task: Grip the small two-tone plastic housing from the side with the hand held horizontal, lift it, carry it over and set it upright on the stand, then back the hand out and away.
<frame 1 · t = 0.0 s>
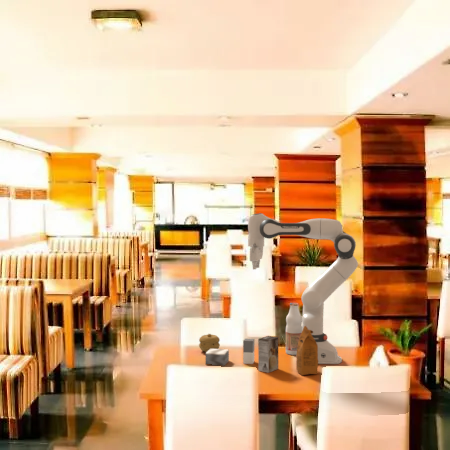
hand: (256, 268, 305), 48 cm above the table, tool pointing down, fingers open, 8 cm apart
fruit juice: (294, 353, 313), on the table
coffee package: (306, 372, 275), on the table
stand: (217, 362, 293), on the table
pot: (209, 351, 316), on the table
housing: (248, 362, 293), on the table
coffee box: (268, 370, 280), on the table
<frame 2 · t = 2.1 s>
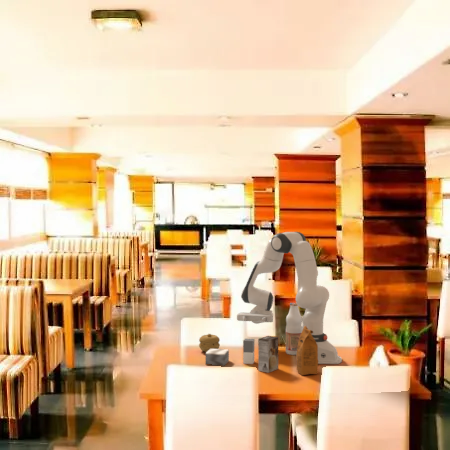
hand: (252, 320, 304), 20 cm above the table, tool horizontal, fingers open, 8 cm apart
nothing on the table moved.
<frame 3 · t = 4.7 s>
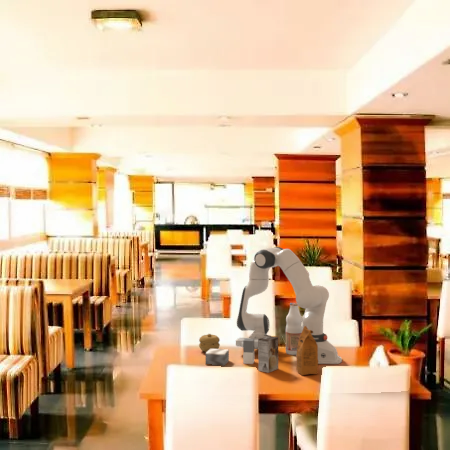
hand: (251, 346, 302), 6 cm above the table, tool horizontal, fingers open, 8 cm apart
nothing on the table moved.
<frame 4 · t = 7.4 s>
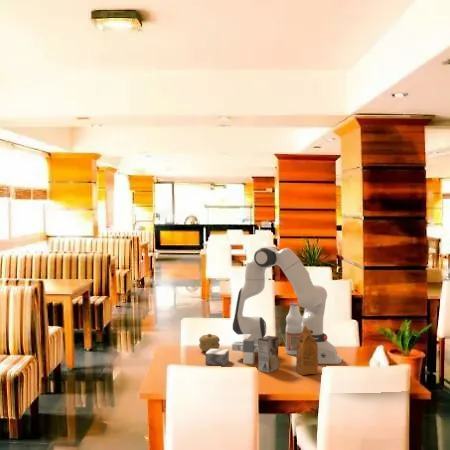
hand: (248, 350, 292), 7 cm above the table, tool horizontal, fingers closed on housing, 5 cm apart
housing: (248, 362, 293), on the table, touching gripper
everything else where it was.
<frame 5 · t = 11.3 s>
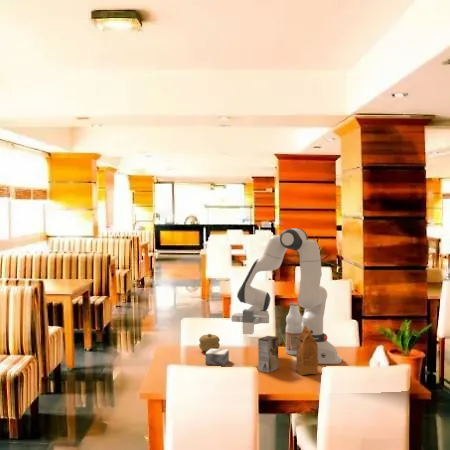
hand: (248, 321, 292), 22 cm above the table, tool horizontal, fingers closed on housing, 5 cm apart
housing: (248, 333, 293), point 15 cm above the table, touching gripper
everything else where it was.
when the fingers open (14 cm above the table, at t = 15.1 s): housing drops 1 cm, resting on stand.
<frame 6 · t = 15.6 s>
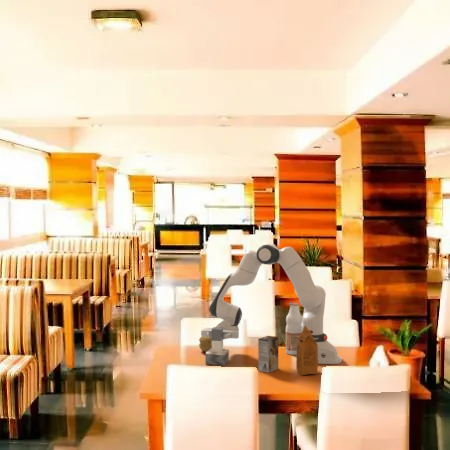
hand: (216, 336, 292), 14 cm above the table, tool horizontal, fingers open, 8 cm apart
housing: (217, 351, 293), point 6 cm above the table, touching stand
everything else where it was.
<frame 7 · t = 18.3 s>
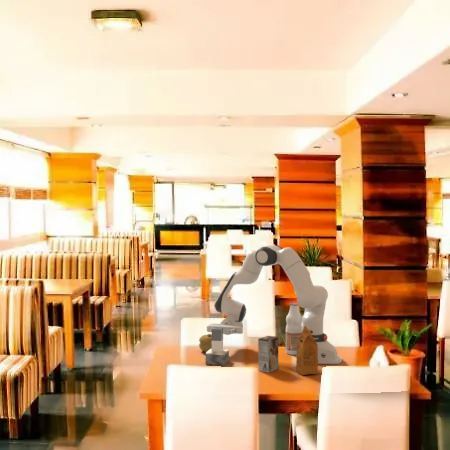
hand: (222, 331, 303), 14 cm above the table, tool horizontal, fingers open, 8 cm apart
nothing on the table moved.
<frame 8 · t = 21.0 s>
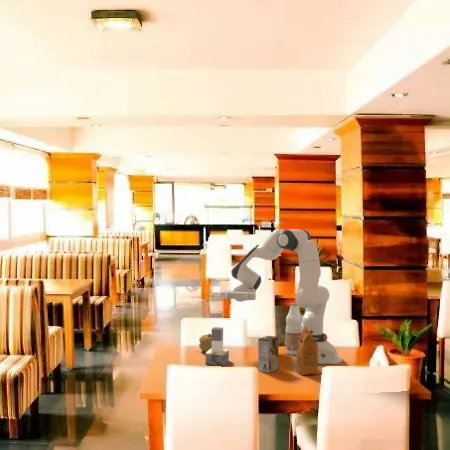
hand: (235, 297, 307), 32 cm above the table, tool horizontal, fingers open, 8 cm apart
nothing on the table moved.
at the end: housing inside the target area on the stand (0.0 cm from its centre), point 6.0 cm above the stand's base; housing tilted 0°; the gripper is holding nothing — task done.
